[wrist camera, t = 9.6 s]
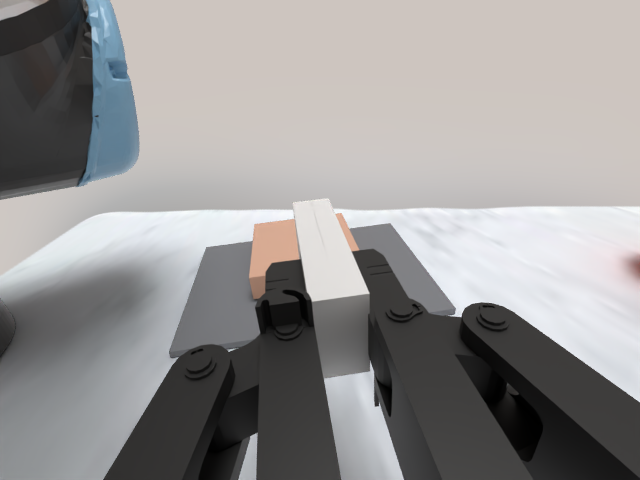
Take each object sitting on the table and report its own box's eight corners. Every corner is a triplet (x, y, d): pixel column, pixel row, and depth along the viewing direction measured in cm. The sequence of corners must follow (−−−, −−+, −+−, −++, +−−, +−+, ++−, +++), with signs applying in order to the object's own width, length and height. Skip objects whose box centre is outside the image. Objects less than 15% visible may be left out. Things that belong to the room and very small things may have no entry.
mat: (171, 357, 23) (168, 352, 23) (207, 251, 36) (206, 247, 36) (454, 314, 25) (455, 308, 24) (390, 227, 38) (390, 223, 38)
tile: (249, 277, 26) (254, 224, 35) (254, 302, 27) (258, 244, 36) (365, 261, 26) (341, 213, 35) (365, 286, 28) (342, 232, 36)
